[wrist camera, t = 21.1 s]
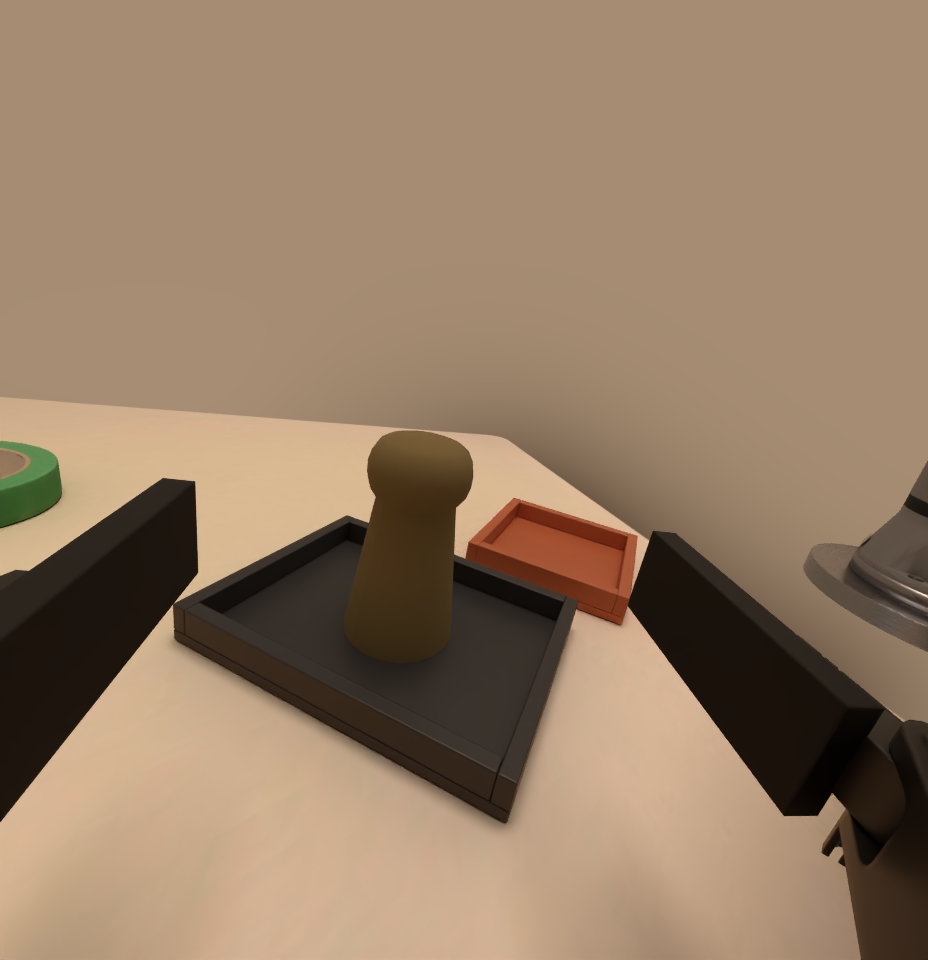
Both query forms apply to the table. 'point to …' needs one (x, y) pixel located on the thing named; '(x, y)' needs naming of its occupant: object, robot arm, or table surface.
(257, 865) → the table surface
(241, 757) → the table surface
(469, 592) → the charcoal tray
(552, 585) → the terracotta tray
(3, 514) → the tape roll
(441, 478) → the cork
